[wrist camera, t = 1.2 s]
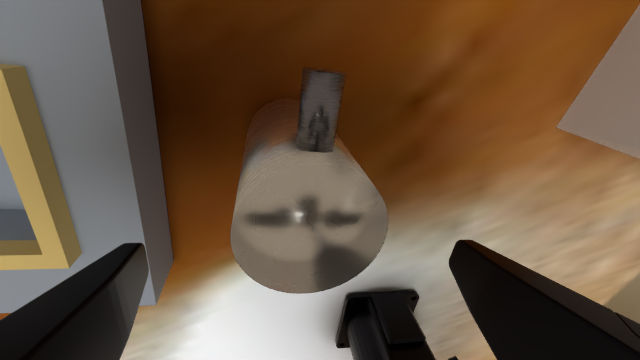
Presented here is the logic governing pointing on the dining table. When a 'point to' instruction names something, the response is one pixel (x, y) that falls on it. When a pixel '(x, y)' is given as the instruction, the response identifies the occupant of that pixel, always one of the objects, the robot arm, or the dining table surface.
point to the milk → (611, 96)
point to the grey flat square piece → (76, 145)
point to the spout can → (304, 195)
